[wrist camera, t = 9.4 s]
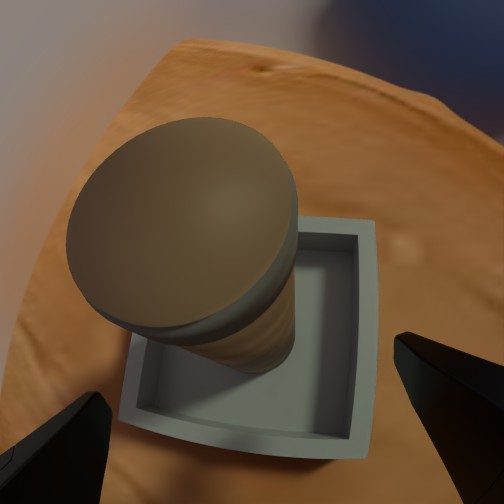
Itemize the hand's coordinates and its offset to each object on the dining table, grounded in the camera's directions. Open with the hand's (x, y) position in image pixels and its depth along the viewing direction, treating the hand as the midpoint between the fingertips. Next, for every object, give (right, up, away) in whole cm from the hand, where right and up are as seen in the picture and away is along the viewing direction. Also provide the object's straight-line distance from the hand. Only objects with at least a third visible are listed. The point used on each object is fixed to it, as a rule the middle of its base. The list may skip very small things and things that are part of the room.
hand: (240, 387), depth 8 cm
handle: (0, -1, +9) cm, 9 cm away
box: (+1, -1, +9) cm, 9 cm away
